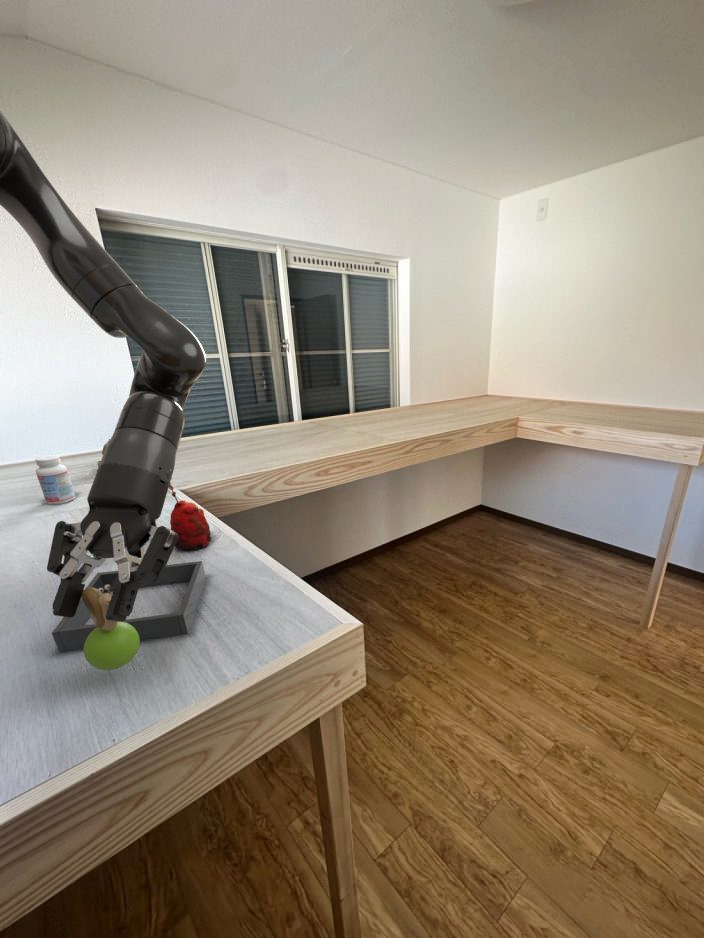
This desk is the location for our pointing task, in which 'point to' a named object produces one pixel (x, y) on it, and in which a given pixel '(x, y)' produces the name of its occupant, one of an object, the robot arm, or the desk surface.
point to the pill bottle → (54, 480)
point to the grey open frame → (75, 632)
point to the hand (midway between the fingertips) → (89, 618)
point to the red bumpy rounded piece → (189, 525)
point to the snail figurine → (107, 634)
